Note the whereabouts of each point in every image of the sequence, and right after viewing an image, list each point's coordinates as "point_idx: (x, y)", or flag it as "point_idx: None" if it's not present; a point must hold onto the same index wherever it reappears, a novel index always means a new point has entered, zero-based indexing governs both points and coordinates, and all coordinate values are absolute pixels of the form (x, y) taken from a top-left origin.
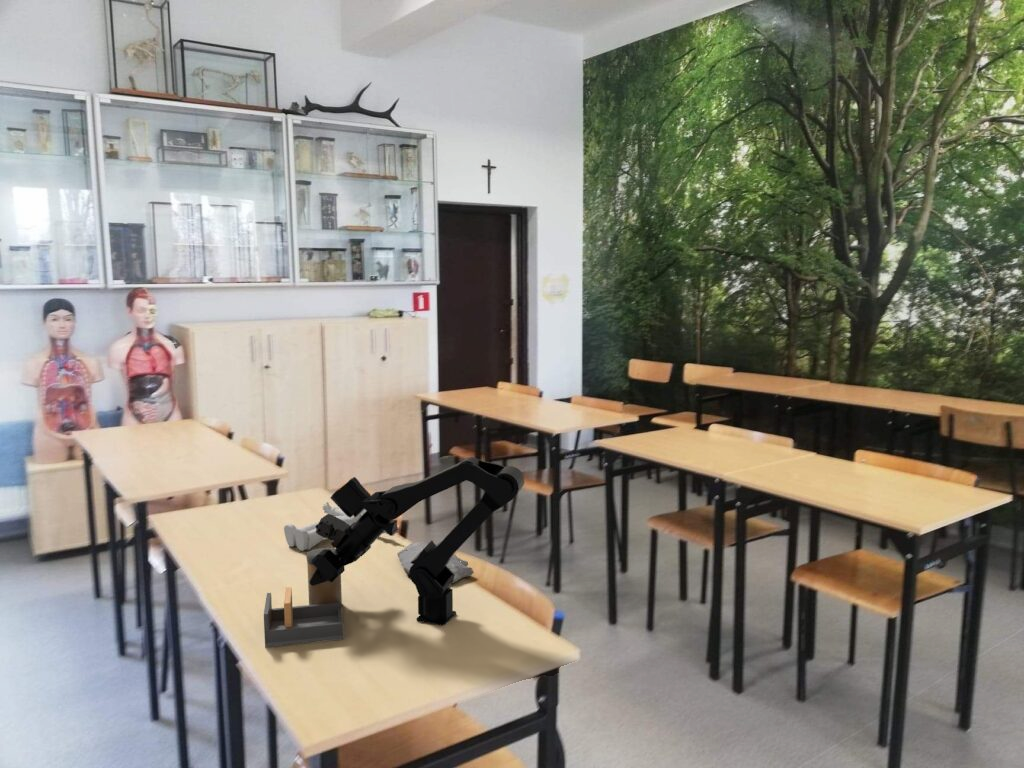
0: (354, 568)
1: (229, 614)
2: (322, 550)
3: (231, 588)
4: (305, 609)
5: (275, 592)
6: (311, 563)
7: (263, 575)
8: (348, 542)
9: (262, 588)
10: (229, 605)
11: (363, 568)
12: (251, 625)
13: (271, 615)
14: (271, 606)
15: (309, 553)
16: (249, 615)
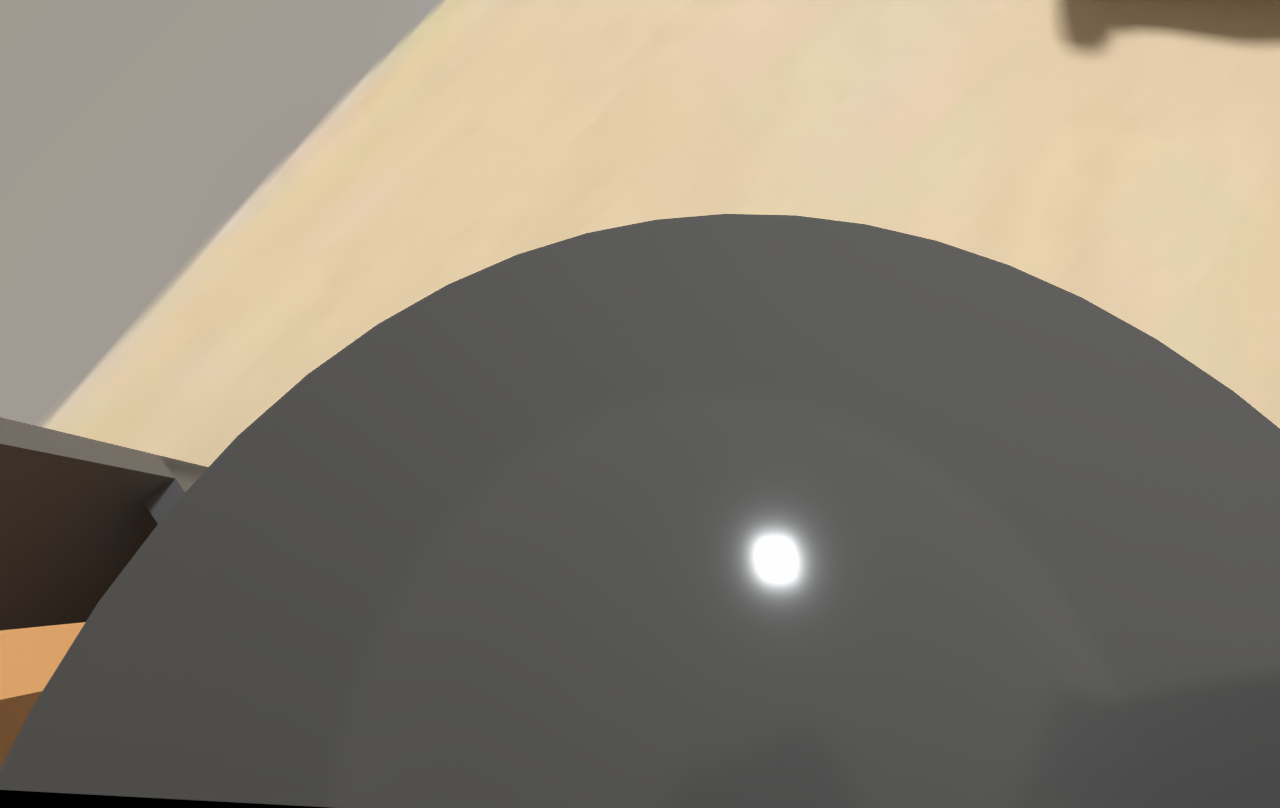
0: (1199, 309)
1: (307, 203)
2: (1019, 517)
3: (566, 17)
4: None
5: (647, 193)
6: (171, 805)
7: (762, 22)
8: None
9: (647, 113)
10: (402, 131)
11: (1252, 355)
12: (213, 402)
13: (146, 527)
14: (126, 488)
15: (509, 334)
16: (334, 293)
